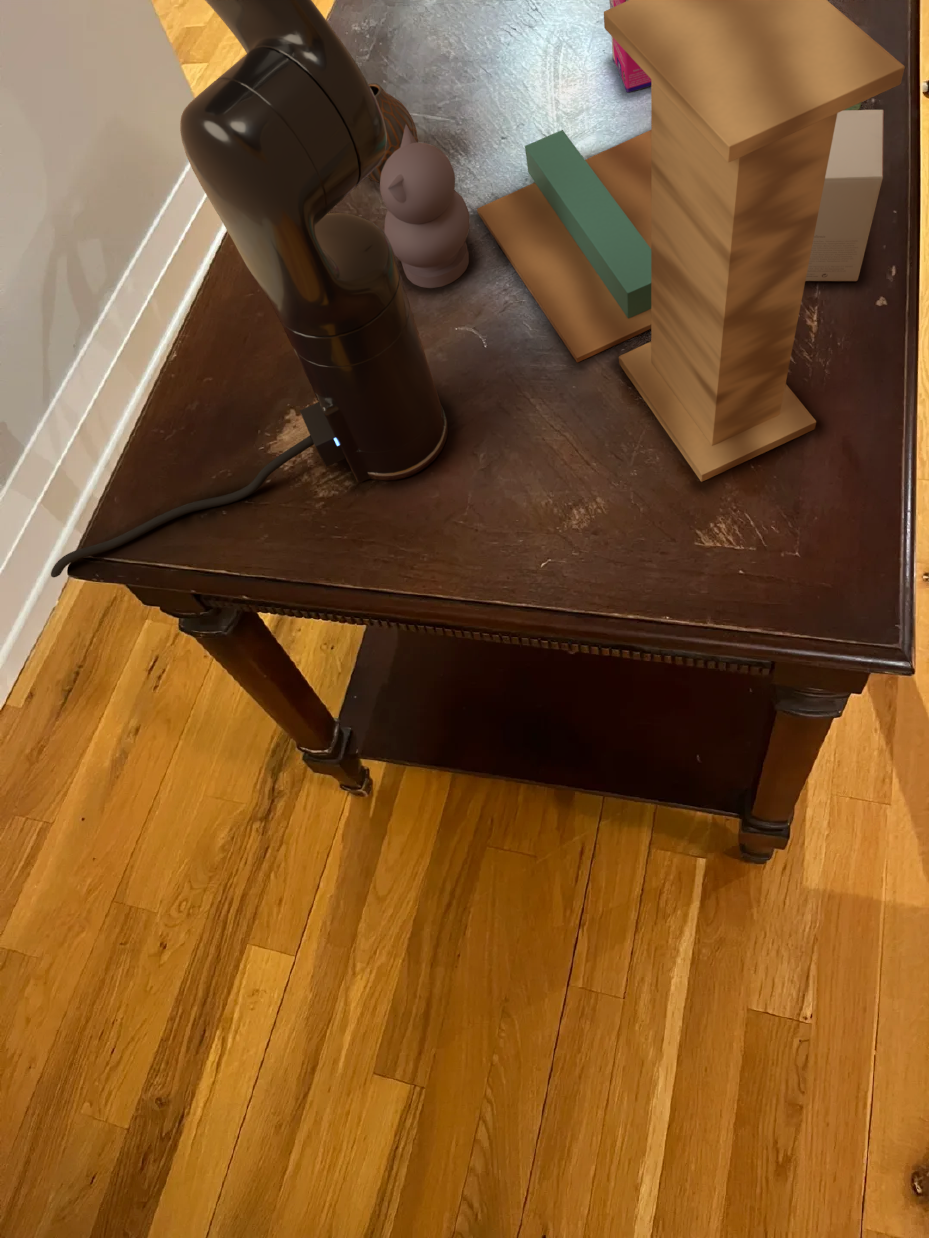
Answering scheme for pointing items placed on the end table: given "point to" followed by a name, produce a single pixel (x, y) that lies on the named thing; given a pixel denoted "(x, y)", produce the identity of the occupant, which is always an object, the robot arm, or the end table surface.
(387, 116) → the vase
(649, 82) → the supplement box
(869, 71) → the wooden pedestal column
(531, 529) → the end table surface
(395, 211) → the cat figurine
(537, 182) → the long green rectangular block
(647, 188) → the flat wooden board
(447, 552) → the end table surface
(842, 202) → the small box
